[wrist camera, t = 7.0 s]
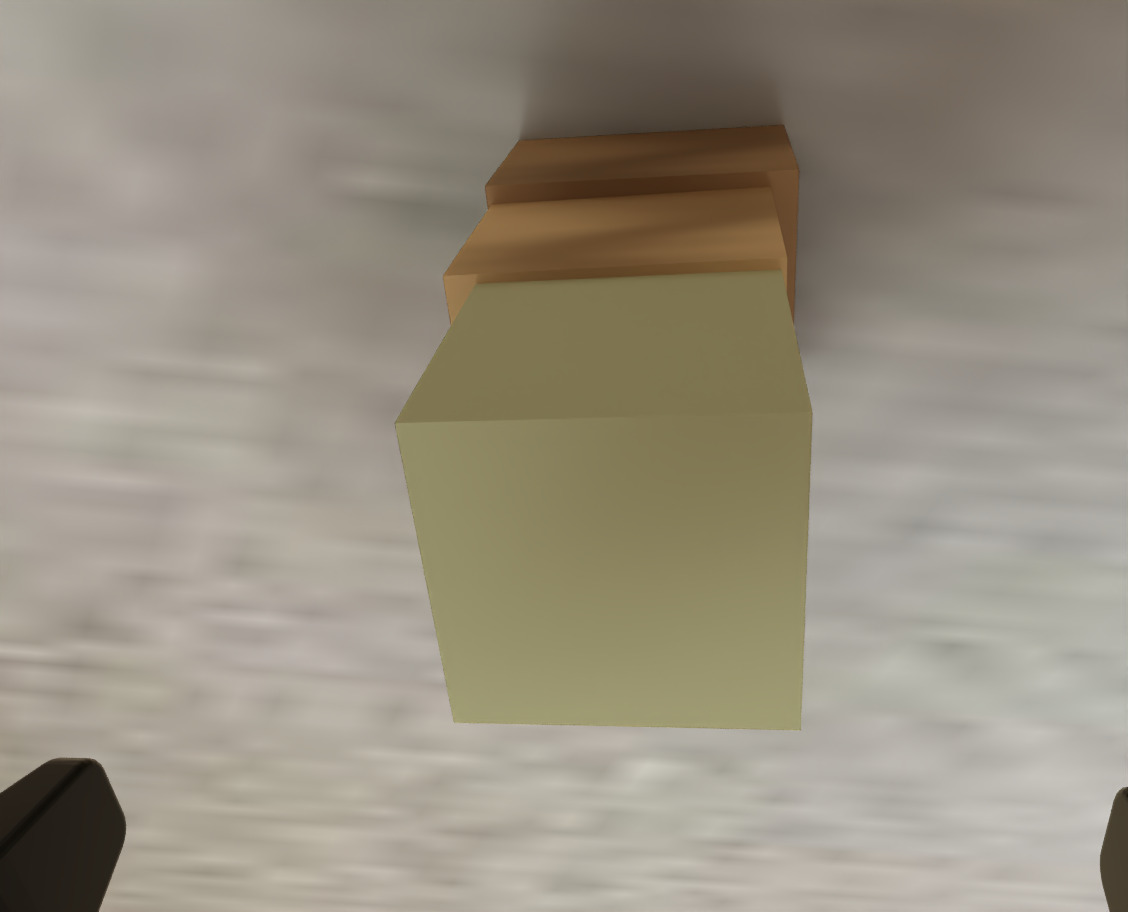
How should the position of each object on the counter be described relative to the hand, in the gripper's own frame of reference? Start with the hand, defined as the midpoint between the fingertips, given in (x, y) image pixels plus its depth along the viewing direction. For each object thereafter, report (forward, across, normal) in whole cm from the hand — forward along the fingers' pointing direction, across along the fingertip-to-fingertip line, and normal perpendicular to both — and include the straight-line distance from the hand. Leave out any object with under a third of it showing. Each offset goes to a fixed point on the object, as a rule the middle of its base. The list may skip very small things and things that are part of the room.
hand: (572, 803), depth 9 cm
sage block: (+6, 0, -1) cm, 6 cm away
